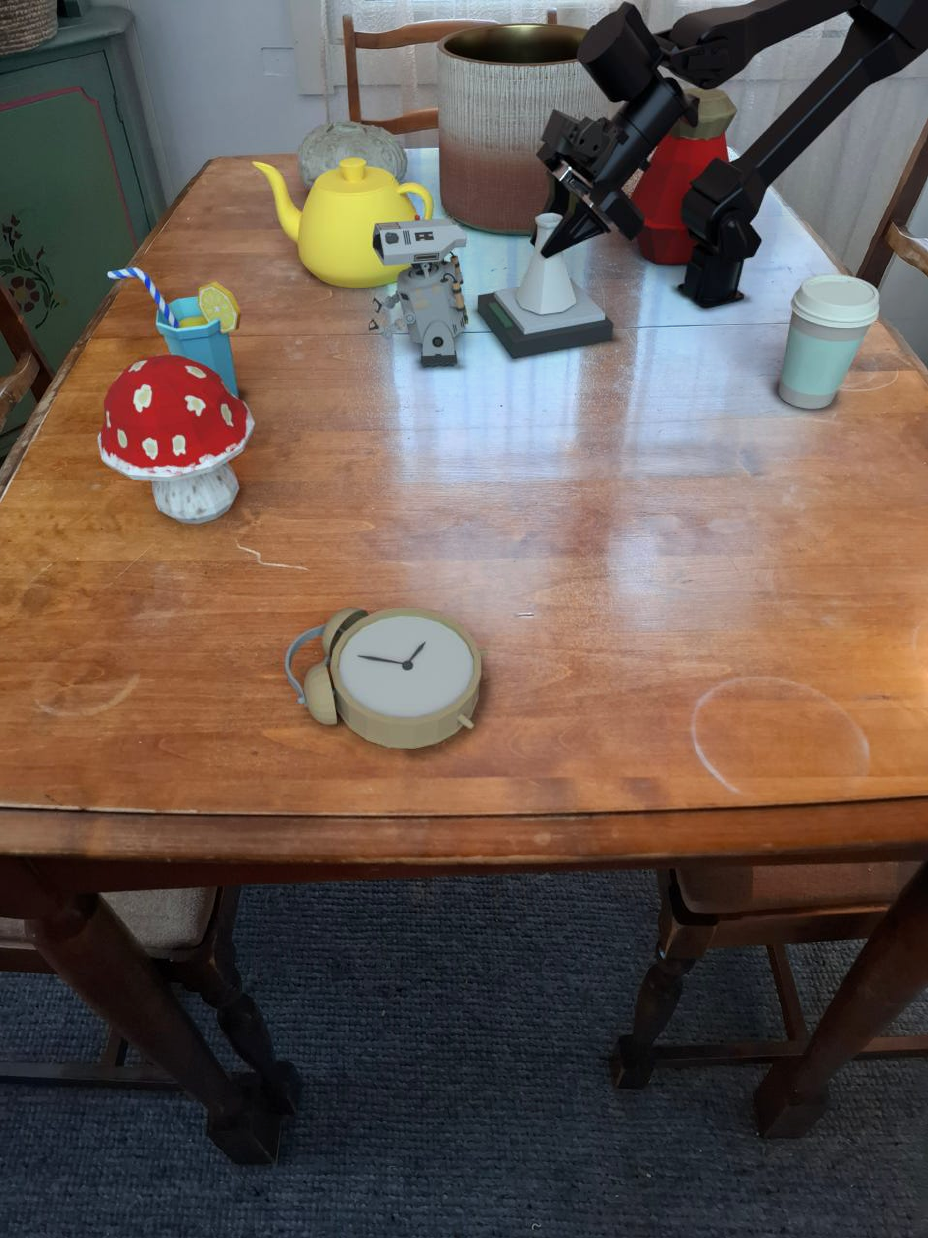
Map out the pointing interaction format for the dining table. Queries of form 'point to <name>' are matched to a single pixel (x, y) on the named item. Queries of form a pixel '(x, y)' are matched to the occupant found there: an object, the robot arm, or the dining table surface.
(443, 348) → the figurine
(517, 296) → the grey faceted vase
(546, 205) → the robot arm
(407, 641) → the alarm clock
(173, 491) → the decorative mushroom
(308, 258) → the teapot
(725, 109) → the bottle
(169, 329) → the cup
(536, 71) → the planter
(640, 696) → the dining table surface
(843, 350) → the coffee cup
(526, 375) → the dining table surface
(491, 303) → the kitchen scale
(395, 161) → the decorative shell
